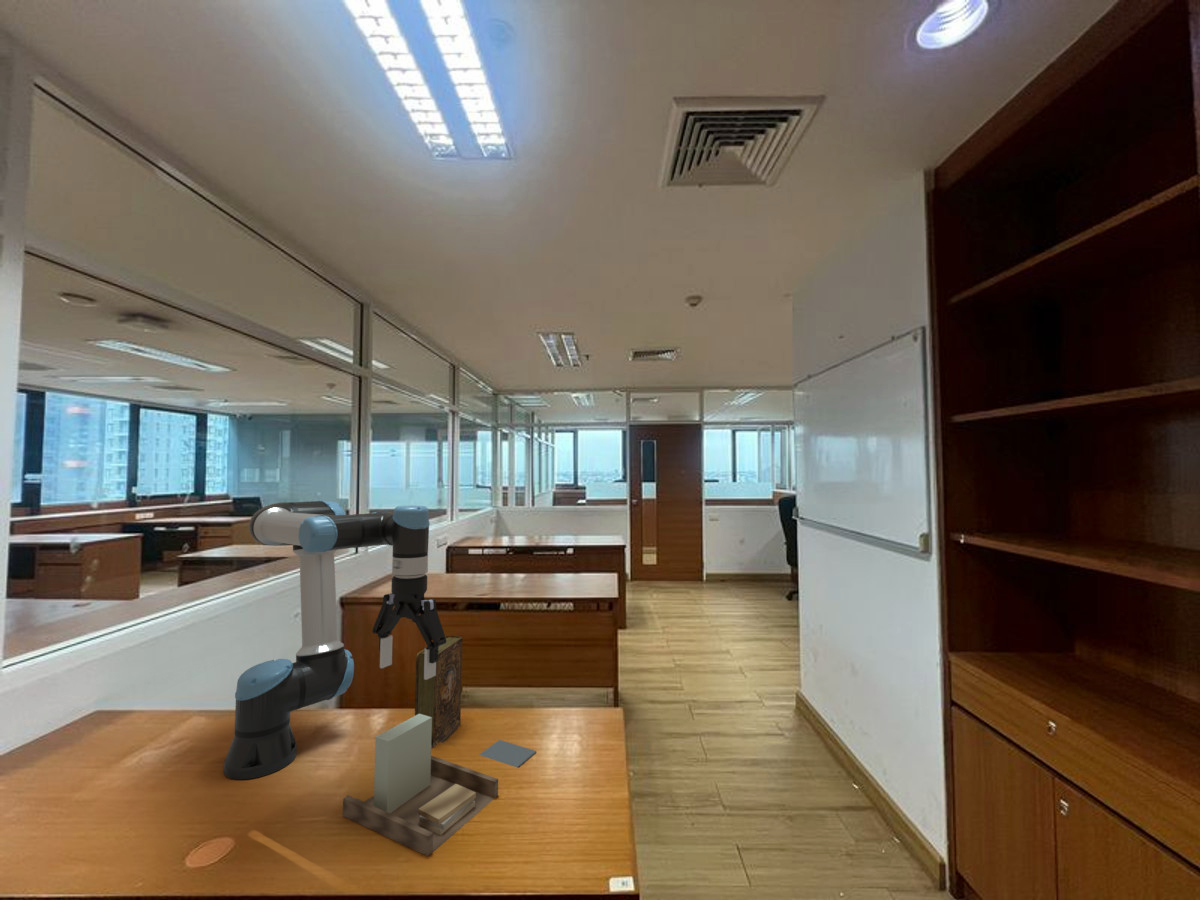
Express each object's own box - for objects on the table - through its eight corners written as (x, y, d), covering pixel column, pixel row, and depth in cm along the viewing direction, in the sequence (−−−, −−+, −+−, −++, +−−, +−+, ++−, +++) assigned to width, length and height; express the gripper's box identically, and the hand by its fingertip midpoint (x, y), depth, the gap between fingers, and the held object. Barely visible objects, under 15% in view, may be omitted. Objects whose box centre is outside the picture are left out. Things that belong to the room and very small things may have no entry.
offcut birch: (418, 825, 103) (418, 820, 103) (453, 797, 112) (453, 793, 112) (440, 835, 100) (440, 829, 100) (475, 806, 109) (475, 801, 109)
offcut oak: (418, 813, 103) (418, 808, 103) (455, 788, 112) (455, 783, 112) (438, 824, 100) (438, 819, 100) (475, 797, 109) (475, 792, 109)
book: (445, 721, 149) (447, 634, 150) (462, 723, 148) (464, 636, 149) (413, 751, 133) (416, 653, 134) (432, 754, 132) (435, 655, 133)
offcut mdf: (419, 821, 102) (419, 816, 102) (451, 793, 112) (451, 788, 112) (443, 829, 100) (443, 824, 100) (474, 799, 109) (474, 795, 109)
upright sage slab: (373, 809, 107) (375, 736, 108) (417, 779, 118) (419, 713, 119) (386, 815, 105) (388, 741, 106) (430, 784, 116) (431, 717, 117)
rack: (342, 823, 105) (343, 798, 106) (418, 772, 123) (419, 751, 124) (427, 864, 94) (428, 836, 95) (497, 802, 112) (498, 779, 113)
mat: (452, 775, 122) (452, 774, 122) (499, 741, 138) (499, 739, 138) (491, 790, 117) (491, 788, 117) (536, 752, 133) (536, 751, 133)
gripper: (357, 572, 117) (354, 667, 115) (439, 583, 105) (436, 688, 104) (384, 567, 123) (382, 656, 122) (464, 577, 112) (462, 676, 111)
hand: (407, 671), depth 113 cm, fingers open, 13 cm apart
